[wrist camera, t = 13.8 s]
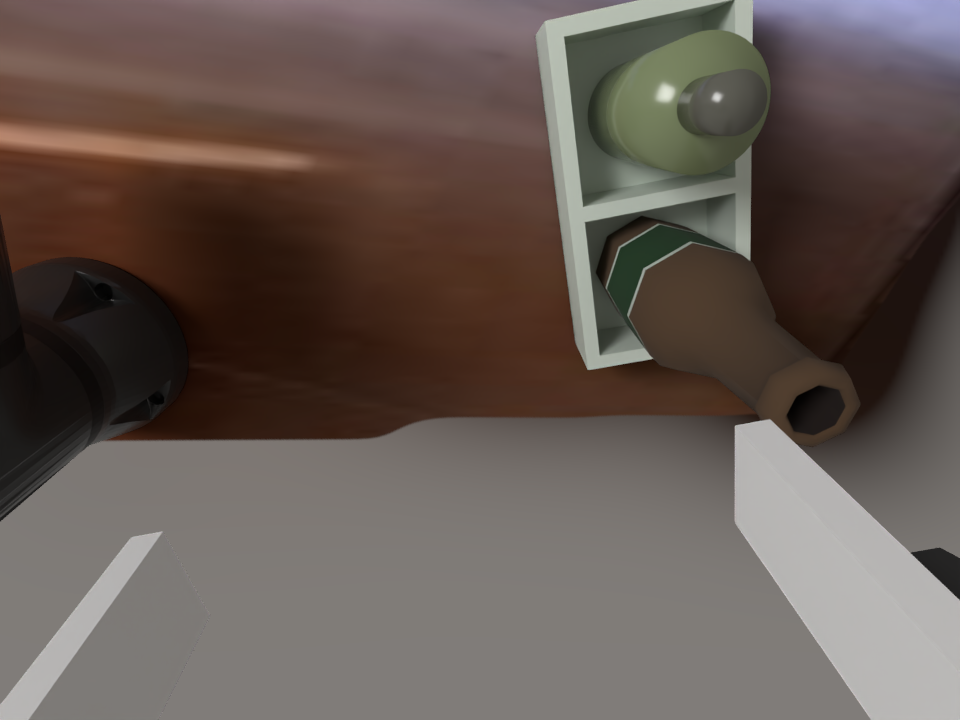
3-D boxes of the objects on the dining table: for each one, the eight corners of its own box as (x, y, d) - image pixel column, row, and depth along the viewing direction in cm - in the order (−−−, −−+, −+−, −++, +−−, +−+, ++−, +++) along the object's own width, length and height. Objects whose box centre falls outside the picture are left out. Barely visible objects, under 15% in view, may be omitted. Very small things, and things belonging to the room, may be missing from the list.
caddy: (575, 341, 46) (587, 370, 41) (535, 35, 37) (544, 21, 32) (717, 316, 45) (749, 342, 40) (712, -4, 36) (753, -26, 31)
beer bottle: (713, 251, 42) (969, 390, 20) (645, 327, 45) (808, 525, 23) (638, 191, 40) (831, 273, 18) (573, 274, 43) (672, 434, 21)
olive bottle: (592, 168, 40) (664, 194, 24) (582, 71, 37) (655, 34, 22) (680, 150, 39) (809, 166, 24) (676, 51, 37) (817, -2, 21)
